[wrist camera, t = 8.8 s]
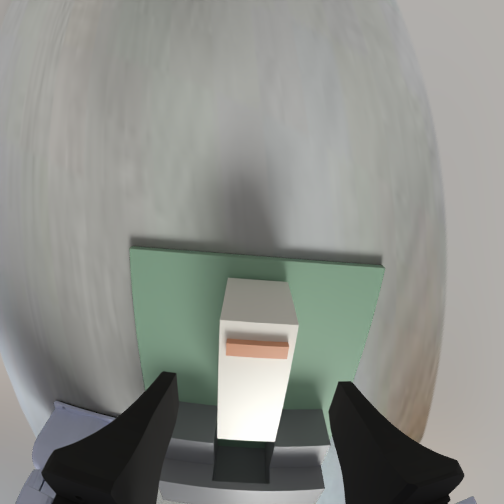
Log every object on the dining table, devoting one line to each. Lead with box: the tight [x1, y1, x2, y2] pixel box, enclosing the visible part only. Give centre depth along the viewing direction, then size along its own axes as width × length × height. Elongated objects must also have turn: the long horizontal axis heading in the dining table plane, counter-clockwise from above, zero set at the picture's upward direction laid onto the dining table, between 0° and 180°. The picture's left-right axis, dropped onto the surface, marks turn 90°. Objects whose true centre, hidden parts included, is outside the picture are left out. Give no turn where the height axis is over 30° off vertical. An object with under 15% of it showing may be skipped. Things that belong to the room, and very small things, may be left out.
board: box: [130, 246, 385, 448], centre depth 24 cm, size 18×22×1 cm
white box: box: [217, 278, 299, 442], centre depth 19 cm, size 4×10×6 cm, turn 176°
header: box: [159, 401, 331, 504], centre depth 23 cm, size 14×8×8 cm, turn 85°
